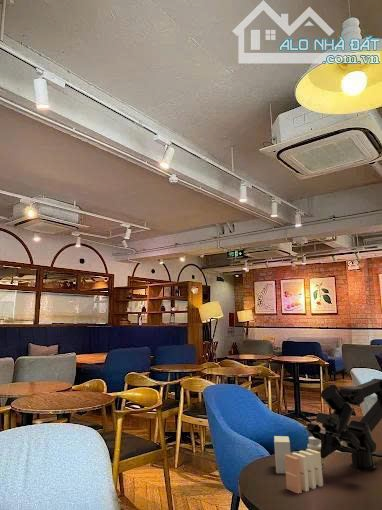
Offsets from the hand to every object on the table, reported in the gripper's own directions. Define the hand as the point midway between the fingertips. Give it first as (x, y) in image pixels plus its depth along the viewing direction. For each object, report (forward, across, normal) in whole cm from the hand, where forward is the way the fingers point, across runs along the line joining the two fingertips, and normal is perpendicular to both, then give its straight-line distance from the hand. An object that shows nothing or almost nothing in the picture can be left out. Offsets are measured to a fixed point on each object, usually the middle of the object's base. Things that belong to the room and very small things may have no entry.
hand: (321, 457), depth 129 cm
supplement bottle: (-1, -11, +12) cm, 16 cm away
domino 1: (+15, 0, -5) cm, 16 cm away
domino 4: (+8, 0, +2) cm, 8 cm away
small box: (+8, -15, +3) cm, 17 cm away
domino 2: (+13, 0, -2) cm, 13 cm away
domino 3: (+10, 0, 0) cm, 10 cm away
